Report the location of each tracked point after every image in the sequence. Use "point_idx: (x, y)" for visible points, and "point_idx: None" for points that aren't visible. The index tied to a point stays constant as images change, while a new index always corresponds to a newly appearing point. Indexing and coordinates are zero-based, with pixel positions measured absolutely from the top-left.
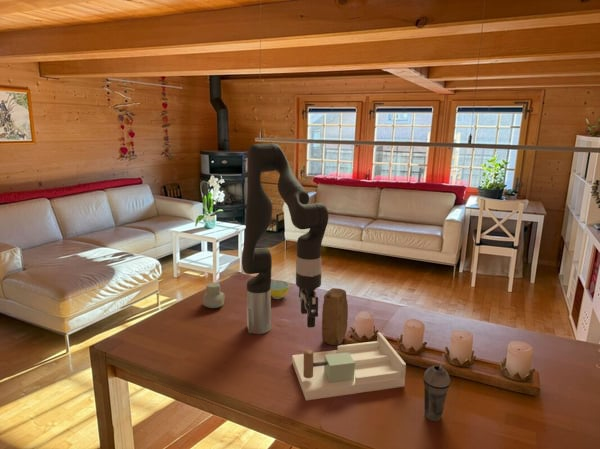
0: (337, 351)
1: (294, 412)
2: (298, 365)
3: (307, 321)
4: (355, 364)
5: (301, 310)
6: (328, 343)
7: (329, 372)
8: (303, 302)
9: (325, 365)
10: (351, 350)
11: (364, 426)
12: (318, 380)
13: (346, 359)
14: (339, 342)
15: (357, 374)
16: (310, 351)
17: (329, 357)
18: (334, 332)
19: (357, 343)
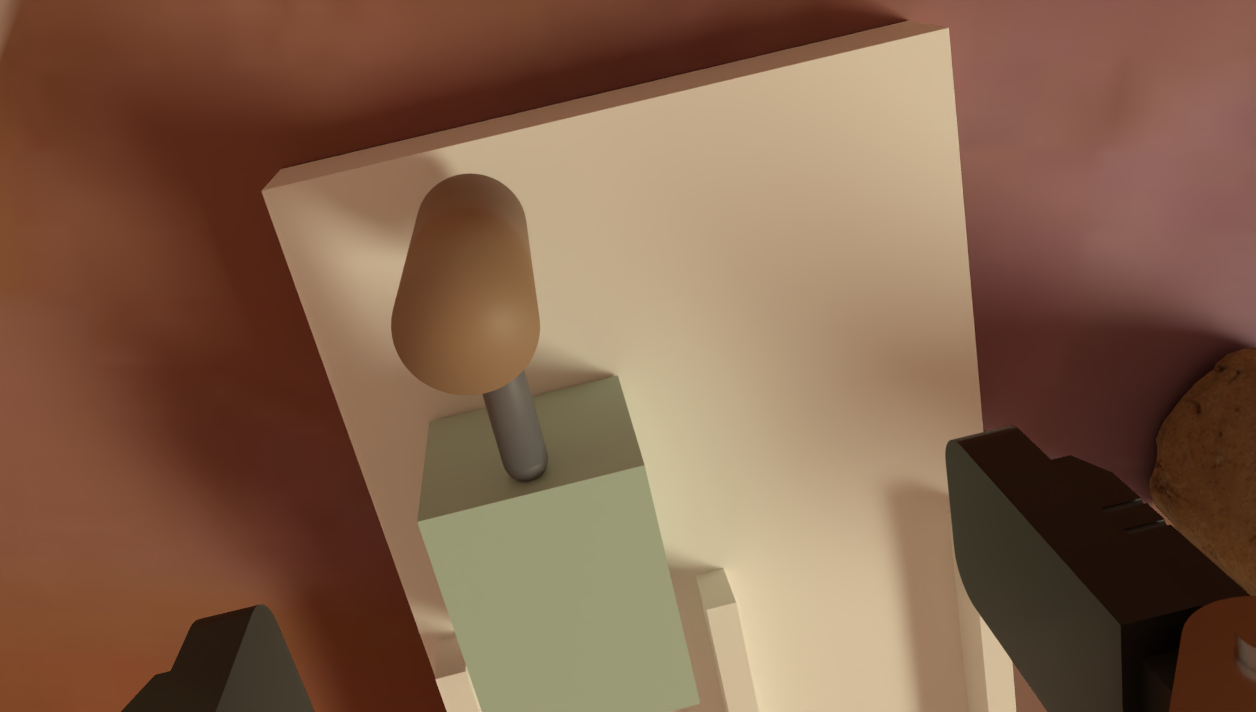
0: None
1: (81, 55)
2: (737, 104)
3: (192, 704)
4: (713, 654)
5: (989, 480)
6: (1182, 400)
7: (431, 473)
8: (1151, 695)
9: (585, 428)
10: (960, 624)
11: (19, 626)
12: None
13: (555, 683)
14: (1159, 507)
15: None
16: (494, 354)
17: (593, 517)
18: (1229, 524)
19: (1013, 706)
